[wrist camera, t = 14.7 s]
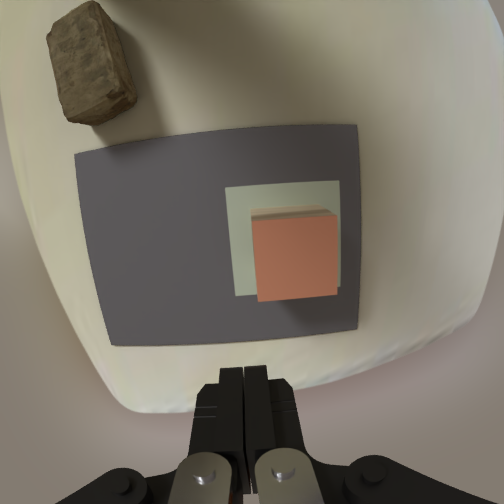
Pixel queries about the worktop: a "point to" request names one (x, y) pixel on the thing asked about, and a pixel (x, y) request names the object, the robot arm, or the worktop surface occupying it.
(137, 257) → the rubber mat
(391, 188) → the worktop surface
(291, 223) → the maple cube
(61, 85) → the stone block
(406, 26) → the worktop surface
